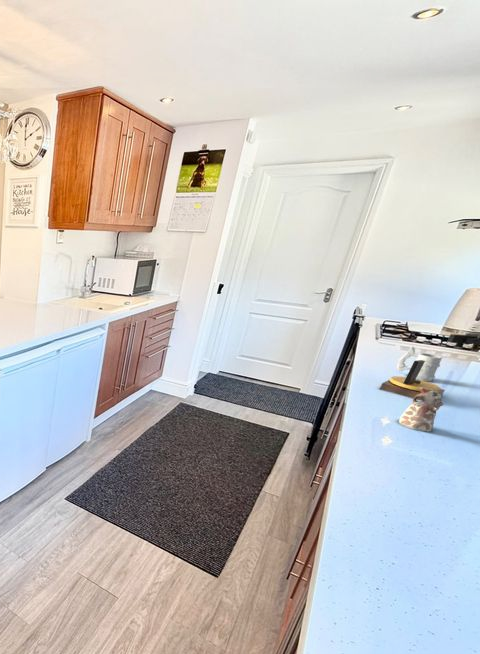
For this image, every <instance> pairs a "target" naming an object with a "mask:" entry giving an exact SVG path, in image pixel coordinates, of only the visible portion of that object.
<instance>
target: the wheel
mask: <svg viewBox="0 0 480 654" xmlns="http://www.w3.org/2000/svg"><path fill="white" fill-rule="evenodd" d="M415 360H416V359H415ZM415 360H414V361H413V363H412V365H411V366H412V367H411V369H409V370H410V371H409V370H408V371H409V373H408V372H407V375H406V376H391V377H390V378H389V380H390V382H392V383H393V384H396V385H398V386H401V387H404V388H408V389H412V390H416V391H420V390H419V389H420V388H425V390H426V391H427V392H429V391H431V390H434V391H437V392H439V391H440V389H442V387H441V386H439V385H437V384H435V383H431V382H430V381H422V380H418V379H416V378H417V376H418V374H419V372H420V370H421V368H422V366H423V364H424V362H425V361H423V360H416V361H415Z"/></svg>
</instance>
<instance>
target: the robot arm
mask: <svg viewBox="0 0 480 654" xmlns="http://www.w3.org/2000/svg"><path fill="white" fill-rule="evenodd" d="M446 342H447V343H451V344H462V345H463V344H464V345H468V346H469V345H472V344H473V345H474V346H480V333H465V334H454V333H450V335H449V336H448V338H447V340H446Z"/></svg>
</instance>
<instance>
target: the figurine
mask: <svg viewBox="0 0 480 654" xmlns="http://www.w3.org/2000/svg"><path fill="white" fill-rule="evenodd" d="M419 390H420V392H421V394H418V395H416V396H415V397H414V398H412V403H411V404H410V405H409V406H408V407H407V408H406V409H405V410H404V412H403V413H402V414H401V416H400V417H399V421H398V422H399V424H400V425H402V426H404V427H406V428H409V429H412V430H416V431H421V432H427V433H428V432H431V431H432V429H433V426H434V424H435V419H436V415H437V412H438V411H439V410H440V408H441V407H442V406H444V403H443V402H442V399H443V397H442V396H440V395H439V393H438V392H437V391H434V390H431V391H429V392H427V391H426V390H425V388H420V389H419ZM419 397H421V398H422V400H418V399H417V398H419Z"/></svg>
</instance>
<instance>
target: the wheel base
mask: <svg viewBox="0 0 480 654" xmlns="http://www.w3.org/2000/svg"><path fill="white" fill-rule="evenodd" d="M379 390H380V391H385V392H388V393H392V394H396V395H399V396H402V397H403V396H404V397H407V398H410V399H413V398H414V397H415V396H416V395H418V394H421V392H420V391H416V390H412V389H408V388H404V387H401V386H398V385H396V384H393V383H392V382H390V379H388V380H386V381H384V382H382V383H381V385H380V387H379ZM445 392H446V389H443V388H441V389H440V391H439V392H438V393H439V395H440V396H441V397H443V395H444V393H445ZM416 400H417V401H422V398H421V397H419V398H417V399H416Z"/></svg>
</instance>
